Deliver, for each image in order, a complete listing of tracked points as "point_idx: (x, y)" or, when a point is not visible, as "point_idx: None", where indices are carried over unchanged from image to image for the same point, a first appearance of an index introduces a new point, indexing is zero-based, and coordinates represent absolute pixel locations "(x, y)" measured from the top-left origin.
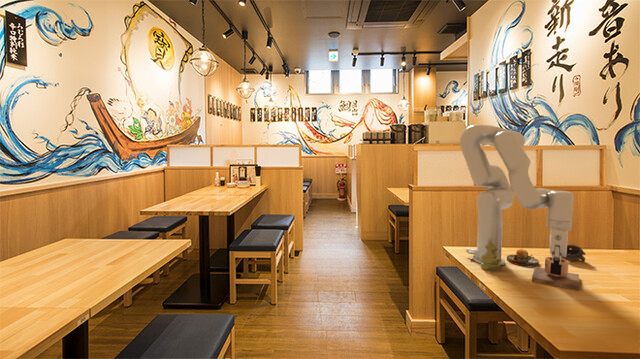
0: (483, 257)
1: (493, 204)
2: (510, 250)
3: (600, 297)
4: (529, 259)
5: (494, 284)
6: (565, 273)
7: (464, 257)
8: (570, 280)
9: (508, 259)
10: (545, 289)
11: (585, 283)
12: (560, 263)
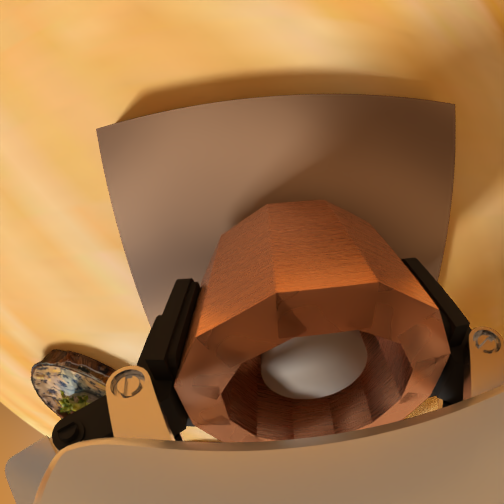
0: None
1: None
2: (22, 410)
3: (459, 9)
4: (84, 401)
5: None
6: (368, 228)
7: None
8: (350, 164)
9: None
10: (489, 275)
11: (211, 58)
12: (500, 341)
